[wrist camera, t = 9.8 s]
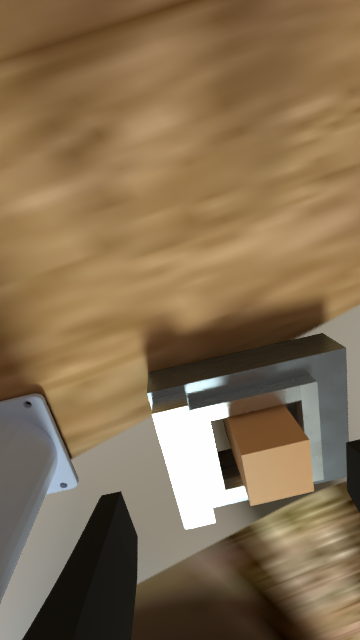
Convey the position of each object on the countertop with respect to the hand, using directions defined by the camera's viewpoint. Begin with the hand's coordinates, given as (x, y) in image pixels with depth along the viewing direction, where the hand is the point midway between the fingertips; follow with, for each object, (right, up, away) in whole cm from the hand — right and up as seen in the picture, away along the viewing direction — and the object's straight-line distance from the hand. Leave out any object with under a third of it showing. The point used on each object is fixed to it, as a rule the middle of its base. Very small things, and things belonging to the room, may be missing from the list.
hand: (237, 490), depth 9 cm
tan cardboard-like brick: (+3, -1, +11) cm, 12 cm away
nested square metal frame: (+3, -1, +12) cm, 12 cm away
